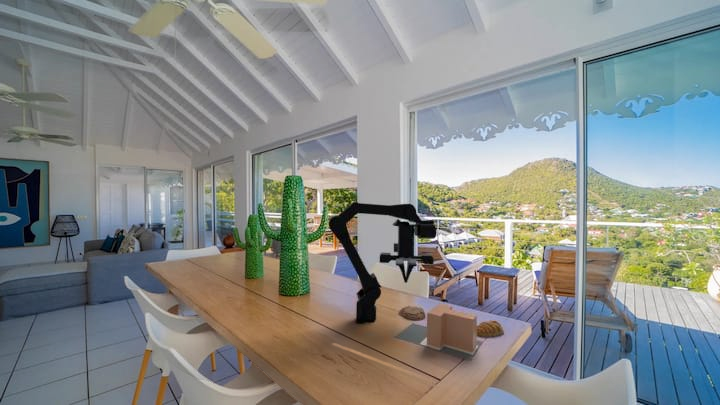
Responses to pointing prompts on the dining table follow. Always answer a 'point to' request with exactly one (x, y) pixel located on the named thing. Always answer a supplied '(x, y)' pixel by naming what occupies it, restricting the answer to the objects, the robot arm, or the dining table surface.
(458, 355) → the board
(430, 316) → the tee
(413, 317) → the cookie
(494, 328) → the pastry
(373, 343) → the dining table surface
